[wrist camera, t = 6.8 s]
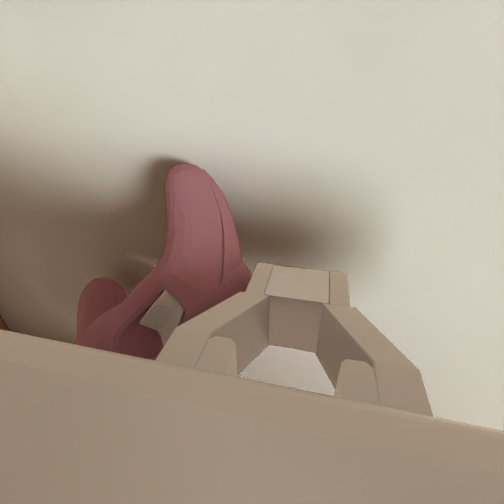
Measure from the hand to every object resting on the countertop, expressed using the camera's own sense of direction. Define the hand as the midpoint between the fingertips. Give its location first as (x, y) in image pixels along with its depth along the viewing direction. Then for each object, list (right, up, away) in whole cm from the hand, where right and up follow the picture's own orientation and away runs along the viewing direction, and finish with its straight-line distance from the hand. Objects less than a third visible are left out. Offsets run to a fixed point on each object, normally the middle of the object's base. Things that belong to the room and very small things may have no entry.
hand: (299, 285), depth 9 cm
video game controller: (-5, +1, +5) cm, 8 cm away
